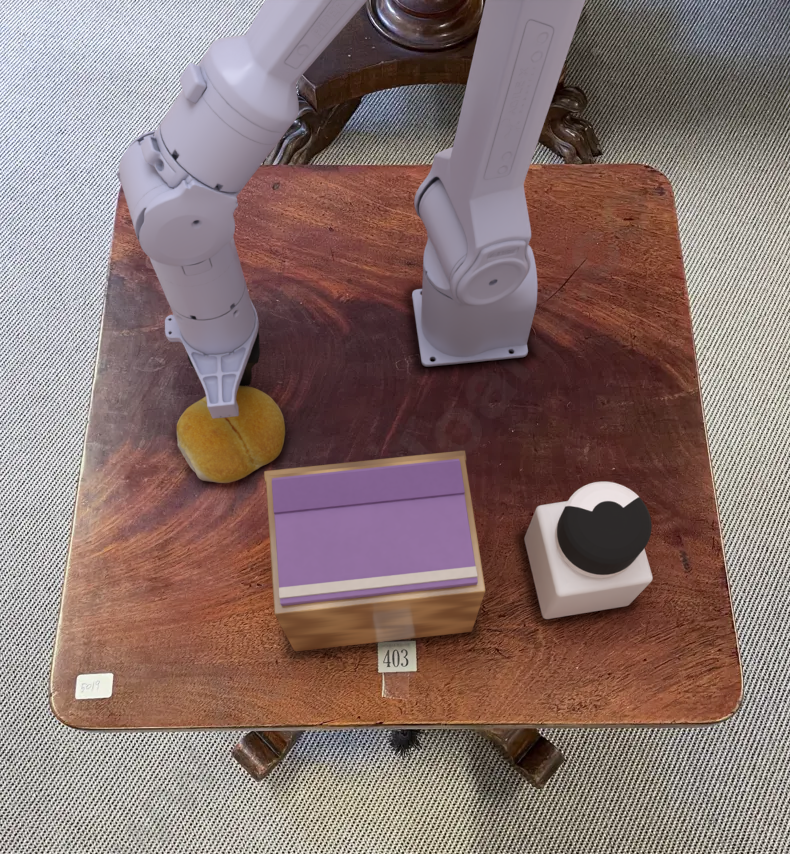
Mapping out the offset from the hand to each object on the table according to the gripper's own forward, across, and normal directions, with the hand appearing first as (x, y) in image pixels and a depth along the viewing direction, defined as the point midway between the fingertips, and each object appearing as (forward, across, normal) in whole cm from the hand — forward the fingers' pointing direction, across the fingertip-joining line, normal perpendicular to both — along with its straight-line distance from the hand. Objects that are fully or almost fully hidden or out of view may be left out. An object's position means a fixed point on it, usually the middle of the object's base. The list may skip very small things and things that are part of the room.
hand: (238, 382), depth 74 cm
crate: (+1, +19, +10) cm, 21 cm away
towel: (-10, +19, +10) cm, 23 cm away
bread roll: (+2, +5, -1) cm, 5 cm away
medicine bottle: (+2, +20, +26) cm, 33 cm away
